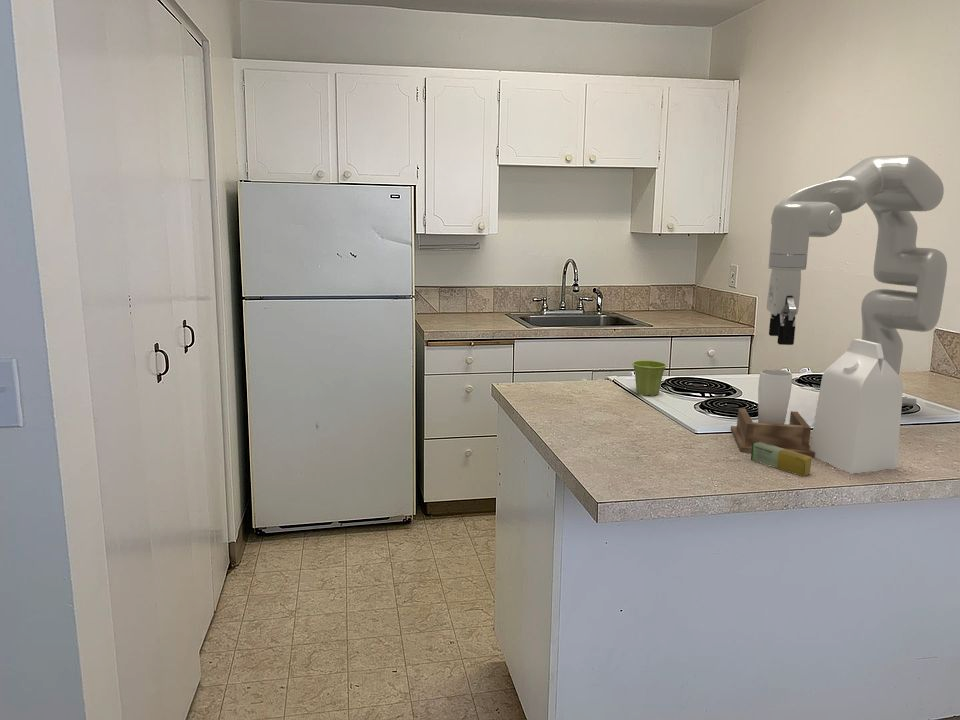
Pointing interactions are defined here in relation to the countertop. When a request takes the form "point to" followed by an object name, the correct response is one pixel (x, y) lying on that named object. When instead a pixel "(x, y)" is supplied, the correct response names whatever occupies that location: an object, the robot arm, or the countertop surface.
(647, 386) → the plant pot
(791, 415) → the wooden open tray
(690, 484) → the countertop surface
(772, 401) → the drinking glass
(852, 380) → the milk
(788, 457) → the medication box
